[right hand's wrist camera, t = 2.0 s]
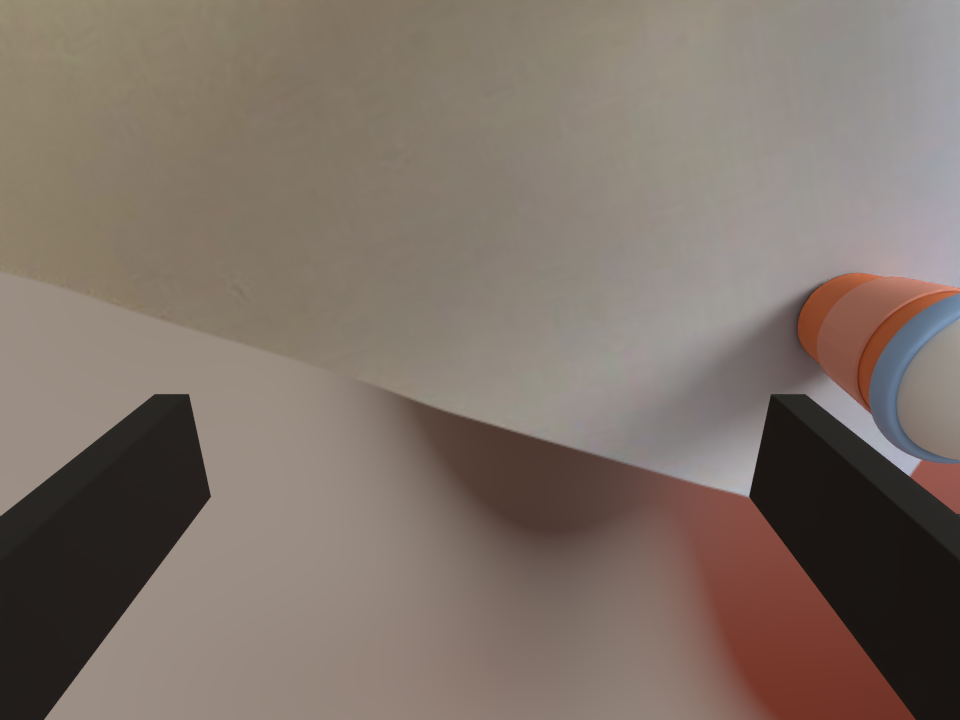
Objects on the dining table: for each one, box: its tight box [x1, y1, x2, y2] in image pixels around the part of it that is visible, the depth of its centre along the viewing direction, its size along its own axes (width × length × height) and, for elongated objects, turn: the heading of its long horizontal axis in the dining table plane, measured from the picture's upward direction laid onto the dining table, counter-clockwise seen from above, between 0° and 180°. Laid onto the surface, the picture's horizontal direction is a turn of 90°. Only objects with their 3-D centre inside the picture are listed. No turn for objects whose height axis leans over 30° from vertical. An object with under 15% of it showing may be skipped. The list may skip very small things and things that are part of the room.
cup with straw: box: [798, 273, 960, 464], centre depth 28 cm, size 9×9×18 cm
